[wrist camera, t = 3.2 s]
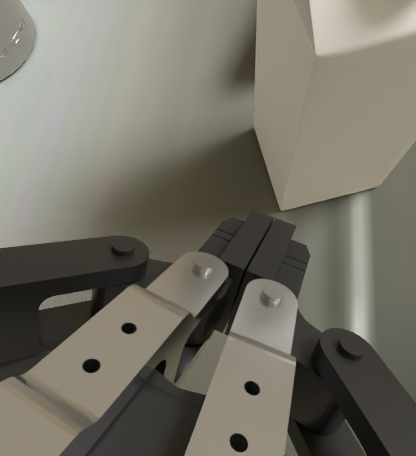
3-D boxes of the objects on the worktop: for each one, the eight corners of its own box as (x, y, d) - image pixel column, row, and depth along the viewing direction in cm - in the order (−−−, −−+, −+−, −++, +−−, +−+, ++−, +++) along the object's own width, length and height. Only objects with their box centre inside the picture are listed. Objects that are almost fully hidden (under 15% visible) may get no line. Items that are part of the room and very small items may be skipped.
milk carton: (252, 127, 29) (262, -235, 11) (344, 103, 29) (504, -302, 11) (279, 212, 27) (346, -69, 9) (379, 187, 27) (651, -150, 9)
